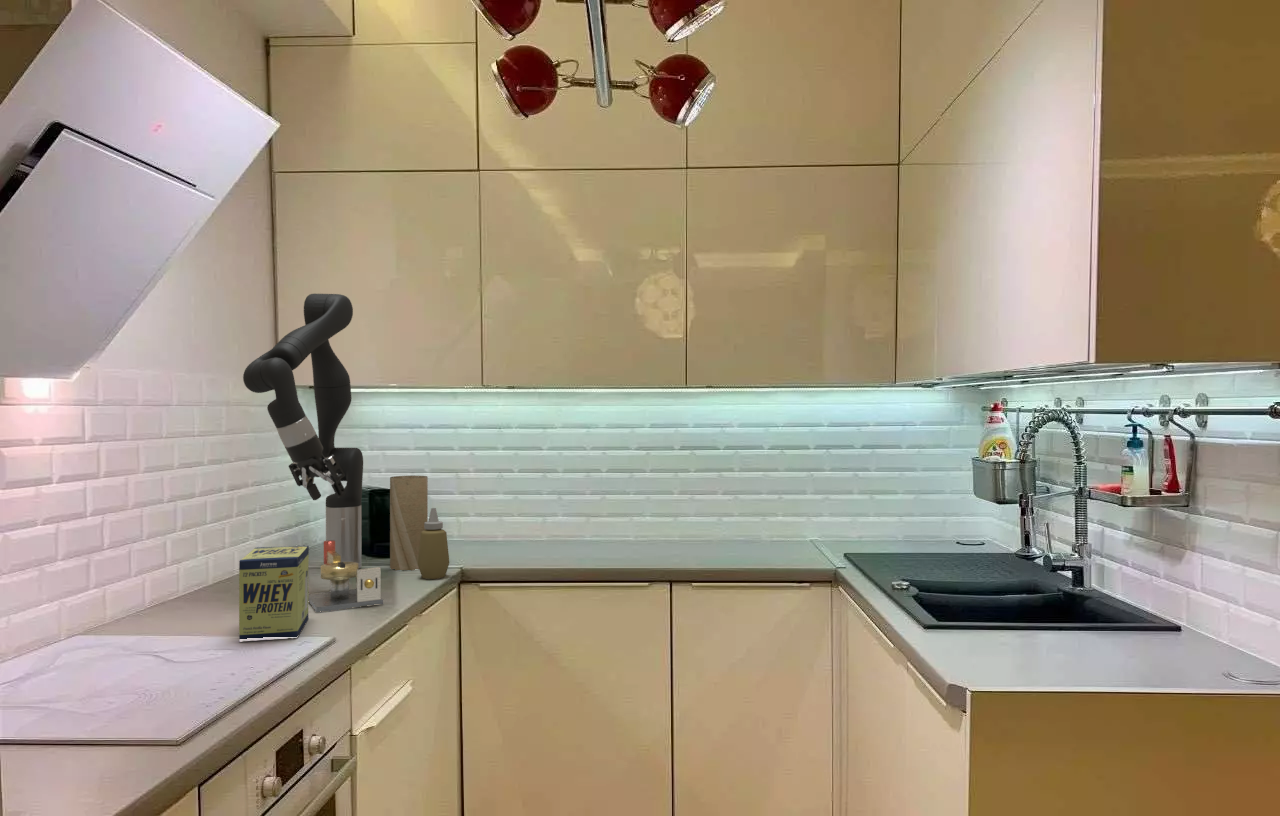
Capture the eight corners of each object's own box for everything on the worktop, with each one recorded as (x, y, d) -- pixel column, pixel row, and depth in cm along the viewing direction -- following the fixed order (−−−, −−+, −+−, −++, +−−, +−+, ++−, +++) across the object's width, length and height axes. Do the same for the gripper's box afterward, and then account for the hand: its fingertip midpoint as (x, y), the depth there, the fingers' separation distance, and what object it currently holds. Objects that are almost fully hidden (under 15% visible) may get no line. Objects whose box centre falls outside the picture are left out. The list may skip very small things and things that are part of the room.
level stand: (306, 599, 183) (306, 563, 183) (369, 592, 190) (369, 558, 190) (317, 614, 170) (317, 575, 170) (384, 605, 177) (384, 568, 177)
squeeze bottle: (423, 582, 201) (423, 511, 201) (413, 576, 208) (413, 507, 208) (454, 578, 206) (453, 508, 206) (443, 572, 212) (443, 505, 212)
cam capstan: (310, 568, 191) (310, 541, 191) (345, 565, 195) (345, 539, 195) (323, 583, 174) (323, 554, 174) (361, 579, 178) (361, 550, 178)
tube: (408, 572, 214) (408, 479, 214) (382, 568, 219) (382, 477, 219) (435, 565, 222) (435, 476, 222) (409, 562, 227) (409, 475, 227)
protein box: (238, 643, 149) (238, 560, 149) (254, 622, 164) (254, 546, 164) (298, 639, 151) (298, 557, 151) (309, 618, 166) (309, 544, 166)
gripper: (331, 427, 188) (360, 486, 193) (291, 434, 194) (320, 491, 199) (309, 442, 181) (339, 503, 187) (267, 449, 188) (298, 507, 193)
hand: (329, 497), depth 193 cm, fingers open, 8 cm apart
